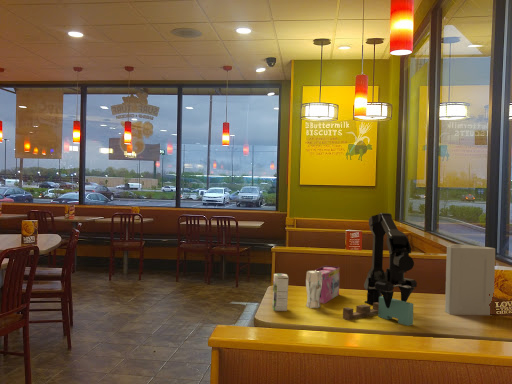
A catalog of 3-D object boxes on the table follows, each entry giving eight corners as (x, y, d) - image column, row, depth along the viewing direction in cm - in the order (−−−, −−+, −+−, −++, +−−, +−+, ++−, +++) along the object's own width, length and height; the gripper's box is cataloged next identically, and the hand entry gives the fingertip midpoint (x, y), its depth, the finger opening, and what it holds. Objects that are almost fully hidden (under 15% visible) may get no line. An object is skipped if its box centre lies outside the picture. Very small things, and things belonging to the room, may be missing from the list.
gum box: (324, 304, 197) (325, 273, 197) (307, 302, 201) (308, 271, 201) (339, 294, 219) (340, 266, 219) (323, 292, 222) (324, 265, 222)
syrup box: (271, 307, 189) (272, 273, 189) (285, 307, 189) (286, 273, 190) (273, 311, 183) (274, 275, 183) (287, 311, 184) (288, 276, 184)
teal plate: (378, 316, 180) (378, 296, 180) (383, 315, 181) (383, 296, 181) (407, 325, 168) (408, 304, 168) (412, 324, 170) (413, 303, 170)
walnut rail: (376, 311, 187) (376, 302, 187) (382, 313, 185) (382, 303, 185) (342, 318, 176) (343, 307, 176) (348, 320, 173) (348, 309, 173)
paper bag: (475, 306, 203) (477, 244, 203) (494, 315, 188) (496, 248, 188) (434, 305, 202) (435, 243, 202) (449, 314, 187) (451, 247, 187)
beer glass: (320, 309, 189) (321, 273, 189) (304, 307, 190) (305, 272, 190) (321, 305, 196) (322, 271, 196) (305, 303, 197) (306, 269, 197)
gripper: (395, 262, 187) (393, 299, 187) (364, 265, 176) (363, 304, 176) (418, 266, 178) (416, 305, 178) (387, 269, 167) (386, 311, 167)
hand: (395, 306), depth 175 cm, fingers open, 9 cm apart
